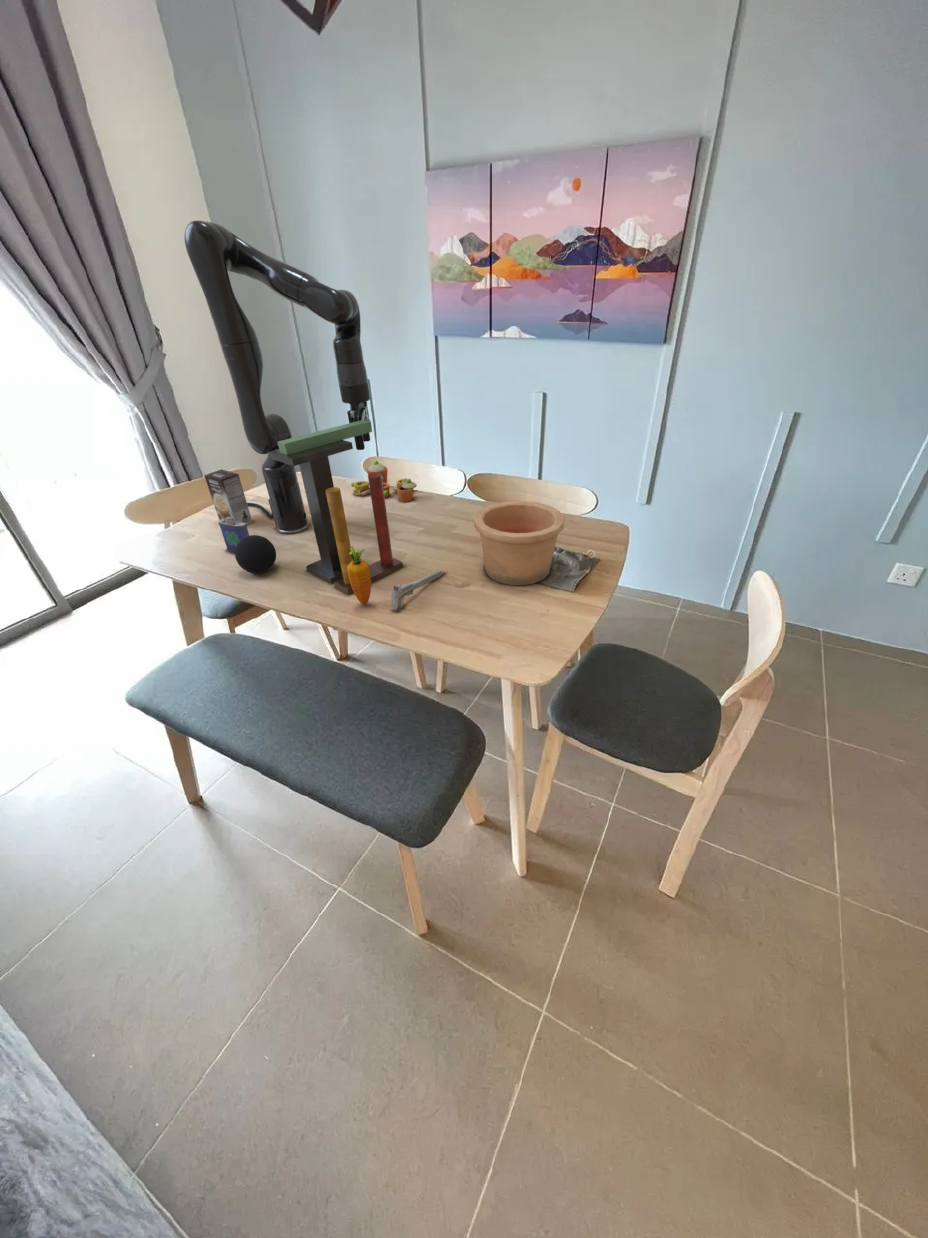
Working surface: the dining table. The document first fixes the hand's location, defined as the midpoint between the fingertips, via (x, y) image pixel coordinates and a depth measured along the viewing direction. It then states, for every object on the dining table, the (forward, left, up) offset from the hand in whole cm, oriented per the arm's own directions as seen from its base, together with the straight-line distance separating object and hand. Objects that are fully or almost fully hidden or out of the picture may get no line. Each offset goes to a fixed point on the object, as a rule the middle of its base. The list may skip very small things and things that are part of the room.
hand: (363, 445), depth 137 cm
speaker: (-10, -36, -25) cm, 45 cm away
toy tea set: (-16, +26, -25) cm, 40 cm away
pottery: (+50, -3, -25) cm, 56 cm away
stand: (+7, -25, -25) cm, 36 cm away
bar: (+8, -20, +7) cm, 23 cm away
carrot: (+26, -35, -25) cm, 51 cm away
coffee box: (-44, -18, -25) cm, 54 cm away
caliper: (+34, -24, -26) cm, 48 cm away
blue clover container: (-25, -31, -26) cm, 47 cm away
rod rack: (+18, -24, -25) cm, 39 cm away
